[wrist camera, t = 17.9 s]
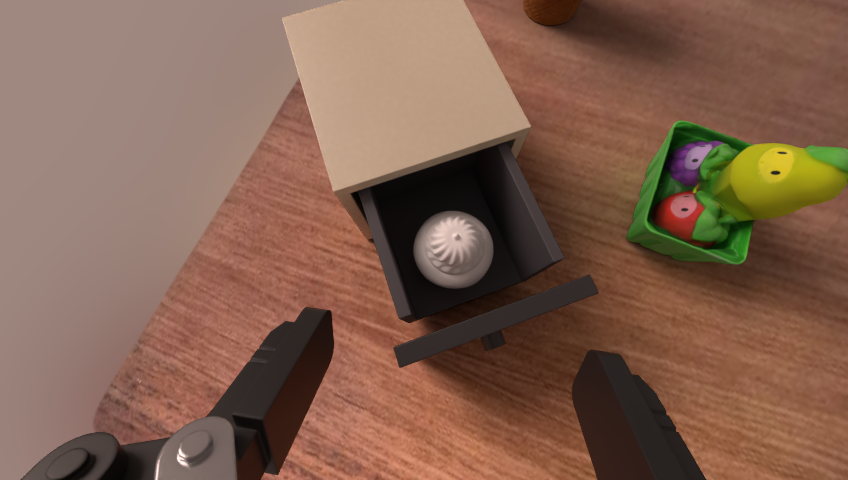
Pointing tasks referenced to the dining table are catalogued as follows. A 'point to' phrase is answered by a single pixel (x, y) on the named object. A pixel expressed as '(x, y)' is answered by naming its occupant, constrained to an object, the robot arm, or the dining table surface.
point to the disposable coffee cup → (550, 10)
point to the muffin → (453, 249)
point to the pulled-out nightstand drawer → (510, 231)
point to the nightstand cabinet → (399, 90)
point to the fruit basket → (726, 191)
